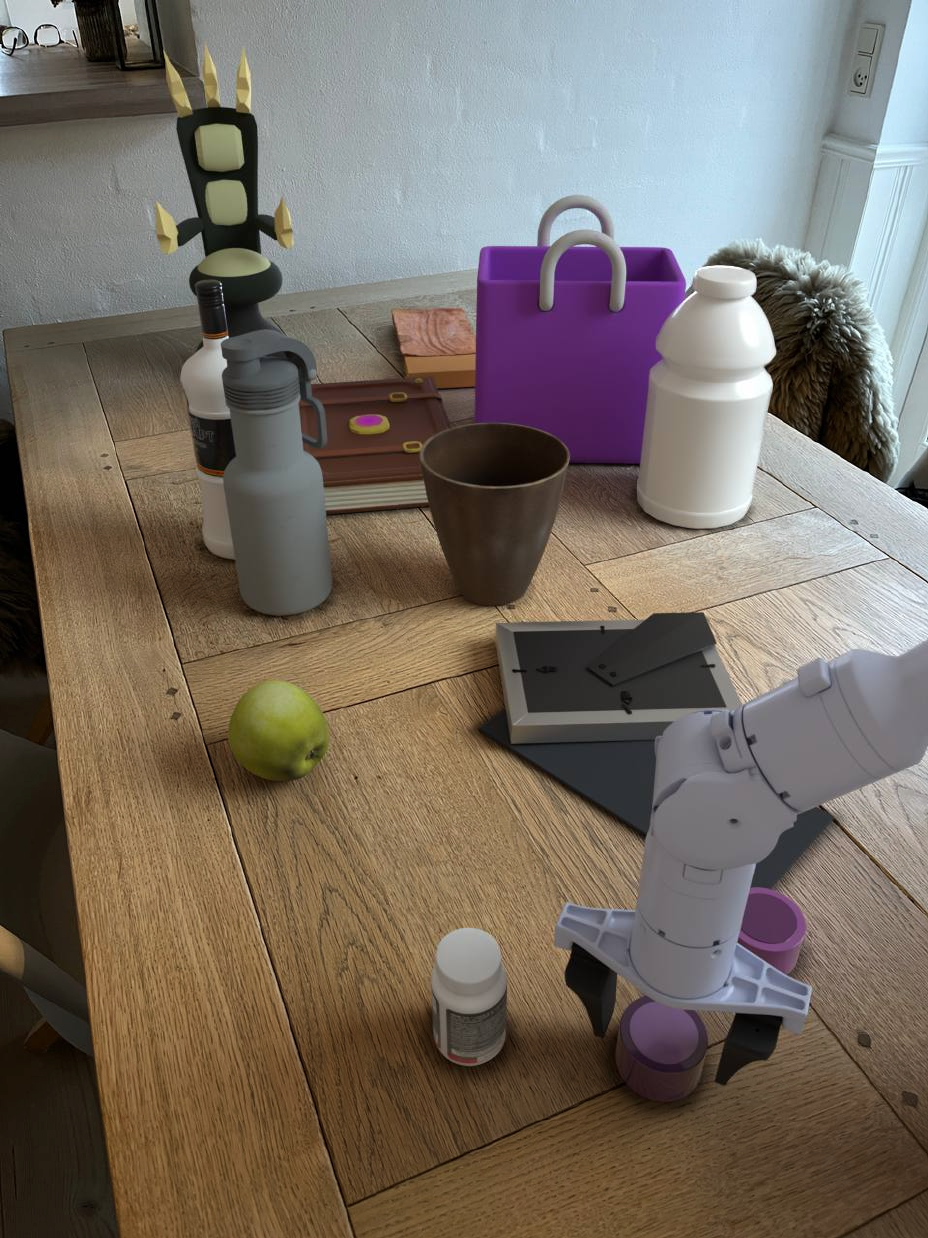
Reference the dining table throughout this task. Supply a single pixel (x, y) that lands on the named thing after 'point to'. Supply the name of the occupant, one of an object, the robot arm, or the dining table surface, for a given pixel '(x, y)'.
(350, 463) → the book
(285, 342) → the water bottle
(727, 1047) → the robot arm
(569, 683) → the picture frame
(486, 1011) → the pill bottle
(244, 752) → the apple
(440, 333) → the wooden flat board
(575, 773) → the placemat
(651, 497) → the bottle
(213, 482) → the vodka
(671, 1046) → the aubergine dish
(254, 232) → the throne chair
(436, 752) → the dining table surface
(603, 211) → the shopping bag
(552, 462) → the plant pot
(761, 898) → the plum dish
